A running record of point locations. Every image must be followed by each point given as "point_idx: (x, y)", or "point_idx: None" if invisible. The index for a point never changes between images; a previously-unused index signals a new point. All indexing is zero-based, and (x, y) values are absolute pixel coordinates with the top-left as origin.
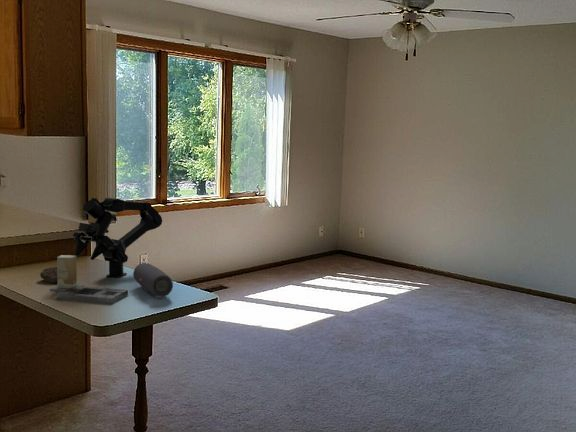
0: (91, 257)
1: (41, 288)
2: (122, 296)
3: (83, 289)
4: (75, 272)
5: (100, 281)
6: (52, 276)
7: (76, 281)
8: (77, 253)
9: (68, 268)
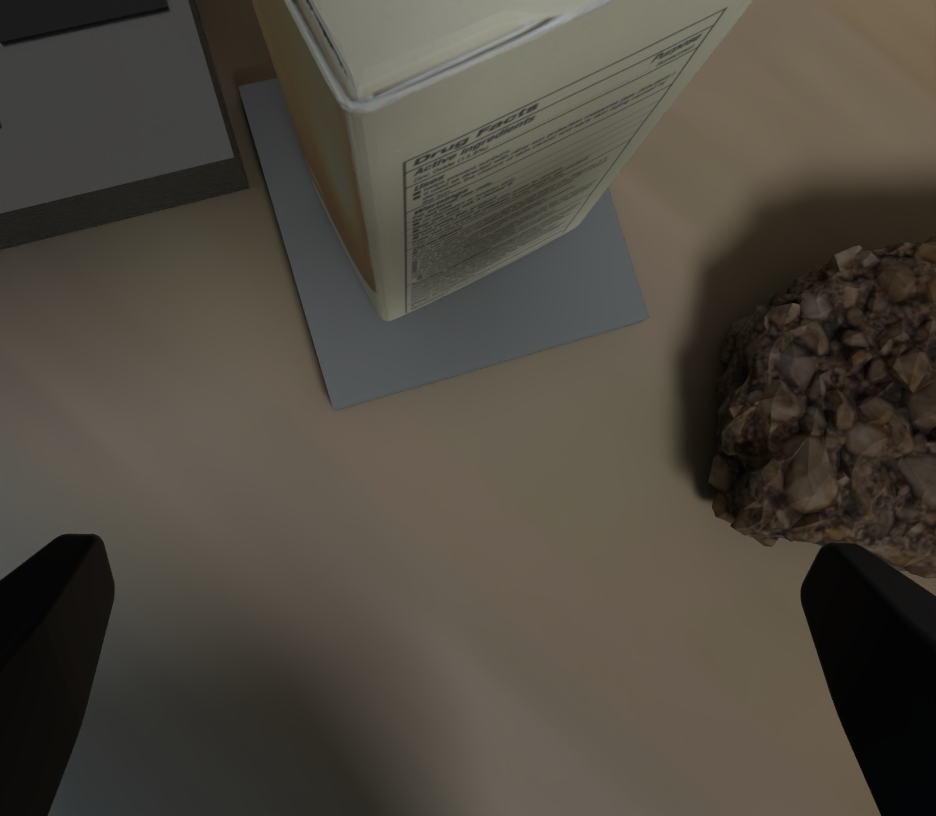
0: (44, 559)
1: (717, 46)
2: None
3: (3, 110)
4: (339, 206)
5: (350, 757)
6: (876, 269)
7: (372, 295)
8: (874, 646)
9: None
